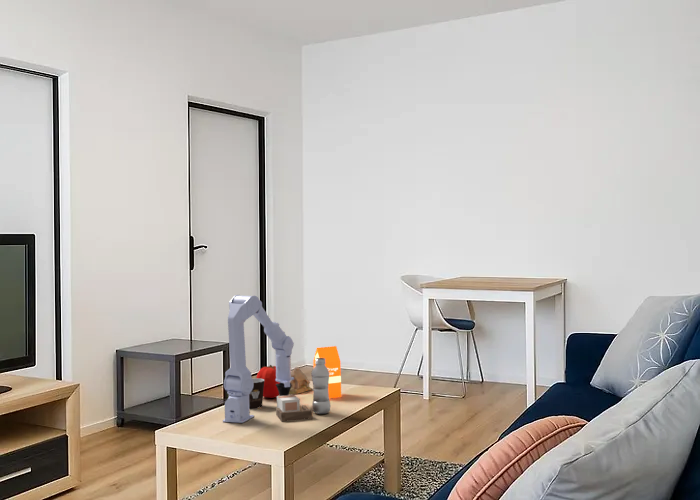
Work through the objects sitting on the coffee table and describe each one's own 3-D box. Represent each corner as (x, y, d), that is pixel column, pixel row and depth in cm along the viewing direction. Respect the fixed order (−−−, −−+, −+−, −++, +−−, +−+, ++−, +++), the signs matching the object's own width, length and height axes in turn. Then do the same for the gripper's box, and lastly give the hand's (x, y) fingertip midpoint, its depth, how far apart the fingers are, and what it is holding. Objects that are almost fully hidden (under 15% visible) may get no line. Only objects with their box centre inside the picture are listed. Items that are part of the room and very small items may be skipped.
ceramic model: (291, 387, 310) (291, 363, 310) (315, 388, 307) (314, 365, 306) (277, 394, 297) (276, 369, 297) (301, 395, 293) (301, 371, 293)
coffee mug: (267, 404, 279) (266, 378, 279) (262, 409, 270) (261, 382, 270) (237, 403, 280) (237, 378, 280) (232, 409, 271) (231, 382, 271)
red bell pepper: (281, 393, 298) (280, 361, 297) (287, 399, 286) (287, 366, 286) (253, 395, 294) (252, 363, 294) (259, 402, 282) (258, 368, 282)
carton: (299, 412, 265) (299, 398, 265) (282, 414, 263) (282, 400, 263) (293, 407, 273) (293, 394, 273) (277, 409, 270) (276, 395, 270)
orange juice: (313, 395, 292) (312, 346, 291) (333, 393, 295) (332, 344, 295) (321, 399, 285) (320, 349, 284) (341, 397, 288) (340, 347, 288)
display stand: (312, 418, 255) (311, 410, 254) (281, 421, 251) (281, 413, 251) (305, 412, 264) (305, 404, 264) (276, 414, 261) (276, 406, 261)
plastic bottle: (328, 416, 258) (327, 360, 258) (310, 415, 259) (309, 360, 259) (332, 411, 264) (331, 357, 264) (314, 411, 266) (313, 357, 265)
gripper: (297, 369, 269) (298, 405, 269) (289, 363, 283) (290, 397, 283) (279, 370, 267) (279, 407, 267) (271, 364, 281) (272, 399, 281)
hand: (284, 402), depth 275 cm, fingers closed
